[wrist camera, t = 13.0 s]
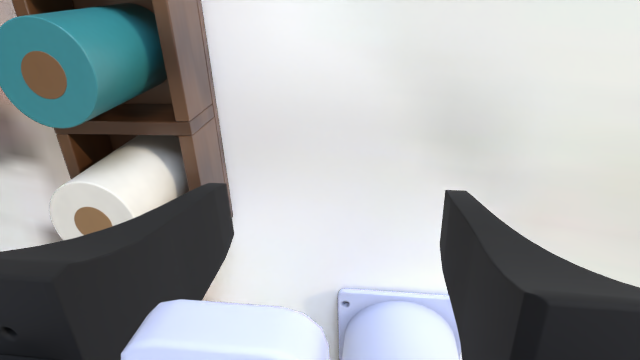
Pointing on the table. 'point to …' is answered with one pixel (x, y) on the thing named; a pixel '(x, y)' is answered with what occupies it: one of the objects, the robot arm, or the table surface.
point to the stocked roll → (120, 186)
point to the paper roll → (79, 61)
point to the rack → (155, 96)
